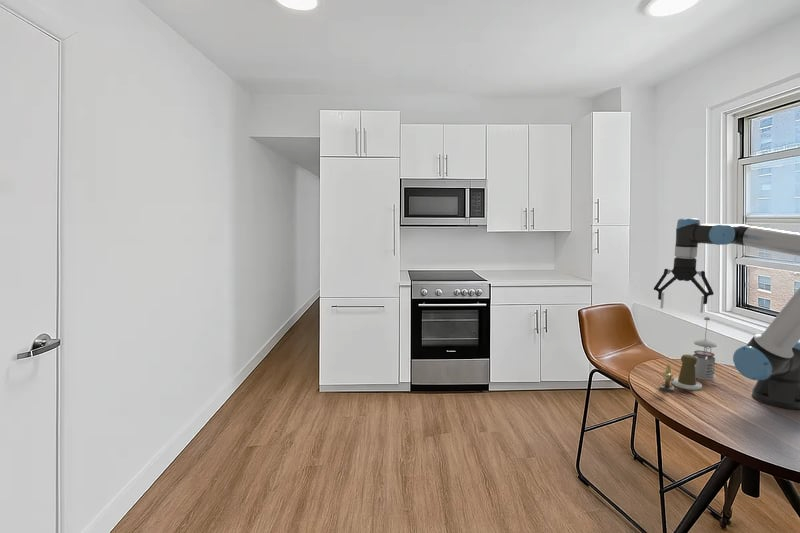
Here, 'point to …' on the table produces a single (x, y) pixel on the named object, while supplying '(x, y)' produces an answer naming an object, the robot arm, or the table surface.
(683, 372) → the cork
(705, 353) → the french press
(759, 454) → the table surface
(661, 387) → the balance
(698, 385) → the dish
